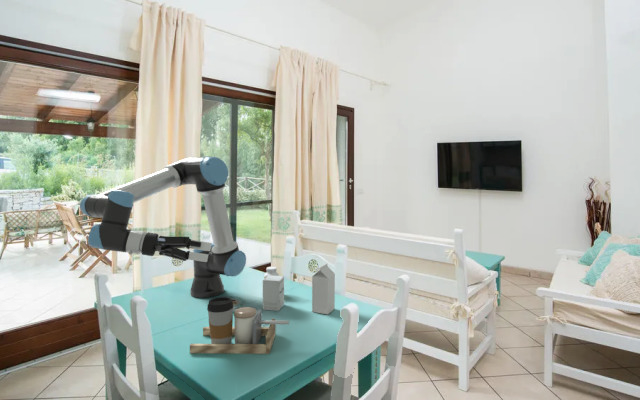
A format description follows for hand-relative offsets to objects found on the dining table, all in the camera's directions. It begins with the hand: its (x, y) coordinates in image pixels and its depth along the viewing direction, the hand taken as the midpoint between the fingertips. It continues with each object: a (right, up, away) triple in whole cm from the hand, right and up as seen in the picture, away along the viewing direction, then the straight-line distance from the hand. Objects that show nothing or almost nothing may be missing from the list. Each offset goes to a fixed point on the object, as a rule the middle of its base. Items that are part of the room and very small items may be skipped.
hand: (209, 253), depth 122 cm
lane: (+10, -29, -5) cm, 31 cm away
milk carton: (+40, -27, +23) cm, 54 cm away
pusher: (+23, -29, -6) cm, 37 cm away
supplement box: (+19, -27, +26) cm, 42 cm away
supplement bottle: (+16, -26, +41) cm, 51 cm away
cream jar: (+14, -29, -5) cm, 33 cm away
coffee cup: (+6, -30, -7) cm, 31 cm away
